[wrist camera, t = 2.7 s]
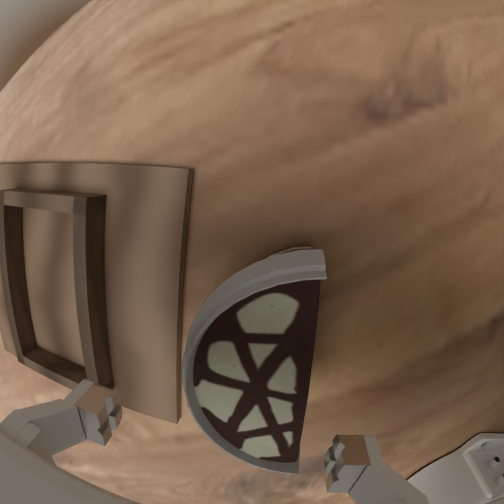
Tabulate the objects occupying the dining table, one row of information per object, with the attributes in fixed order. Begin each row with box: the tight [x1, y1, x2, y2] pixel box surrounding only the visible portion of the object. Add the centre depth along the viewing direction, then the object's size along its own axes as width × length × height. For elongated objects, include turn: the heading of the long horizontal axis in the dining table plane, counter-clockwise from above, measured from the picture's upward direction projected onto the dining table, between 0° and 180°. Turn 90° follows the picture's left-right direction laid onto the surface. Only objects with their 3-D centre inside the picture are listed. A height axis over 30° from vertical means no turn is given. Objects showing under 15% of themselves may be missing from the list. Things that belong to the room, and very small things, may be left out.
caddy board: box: [0, 163, 194, 424], centre depth 22 cm, size 24×22×4 cm
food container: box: [182, 246, 327, 475], centre depth 17 cm, size 12×6×10 cm, turn 179°
